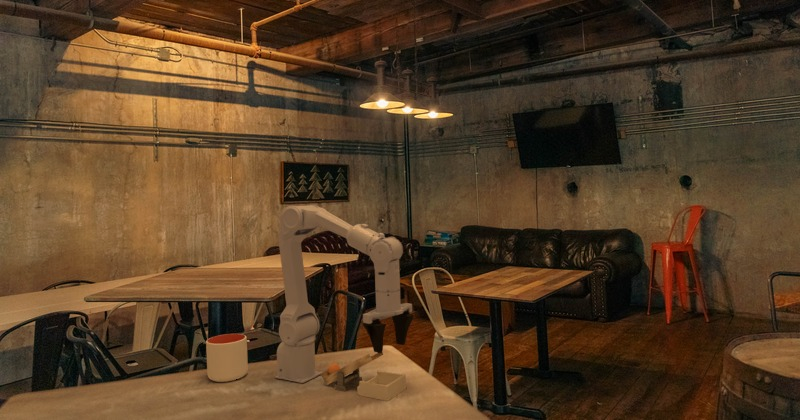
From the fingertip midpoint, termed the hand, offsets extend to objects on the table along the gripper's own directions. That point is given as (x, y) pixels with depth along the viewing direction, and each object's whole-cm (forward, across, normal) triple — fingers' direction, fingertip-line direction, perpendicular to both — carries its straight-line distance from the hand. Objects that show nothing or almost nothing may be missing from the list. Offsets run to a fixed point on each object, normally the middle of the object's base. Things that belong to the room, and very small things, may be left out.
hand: (389, 348), depth 118 cm
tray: (+10, -2, +1) cm, 10 cm away
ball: (+7, -5, +15) cm, 17 cm away
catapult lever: (+7, -1, +11) cm, 13 cm away
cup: (+10, -19, +41) cm, 46 cm away
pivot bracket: (+10, -4, +10) cm, 15 cm away
